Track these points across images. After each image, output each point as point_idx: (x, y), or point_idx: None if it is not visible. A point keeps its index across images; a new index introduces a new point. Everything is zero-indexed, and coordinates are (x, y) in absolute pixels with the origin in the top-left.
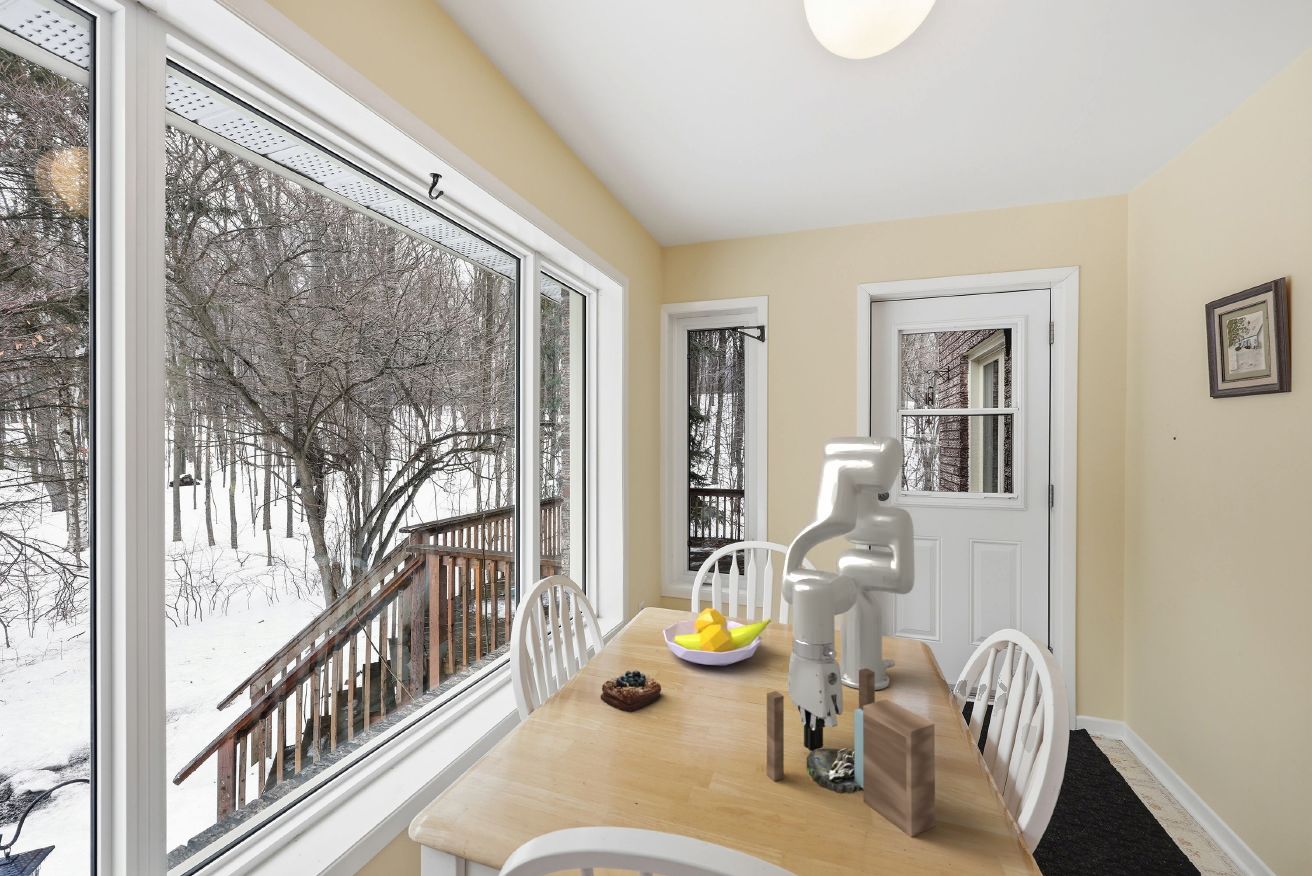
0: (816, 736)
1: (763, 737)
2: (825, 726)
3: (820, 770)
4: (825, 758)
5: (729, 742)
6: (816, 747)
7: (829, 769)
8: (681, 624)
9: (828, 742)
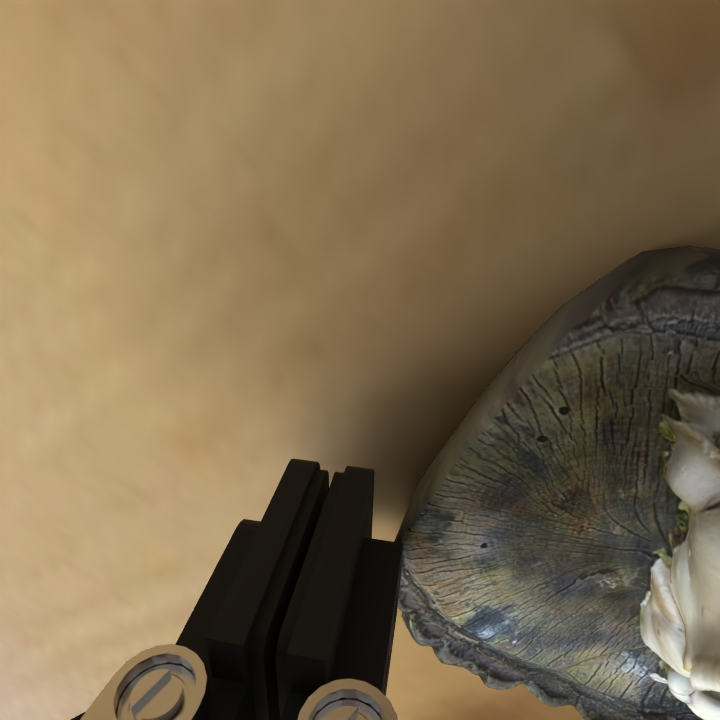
0: (385, 688)
1: (53, 576)
2: (395, 714)
3: (583, 671)
4: (521, 578)
5: (63, 708)
6: (368, 535)
7: (627, 633)
8: None
9: (267, 249)
